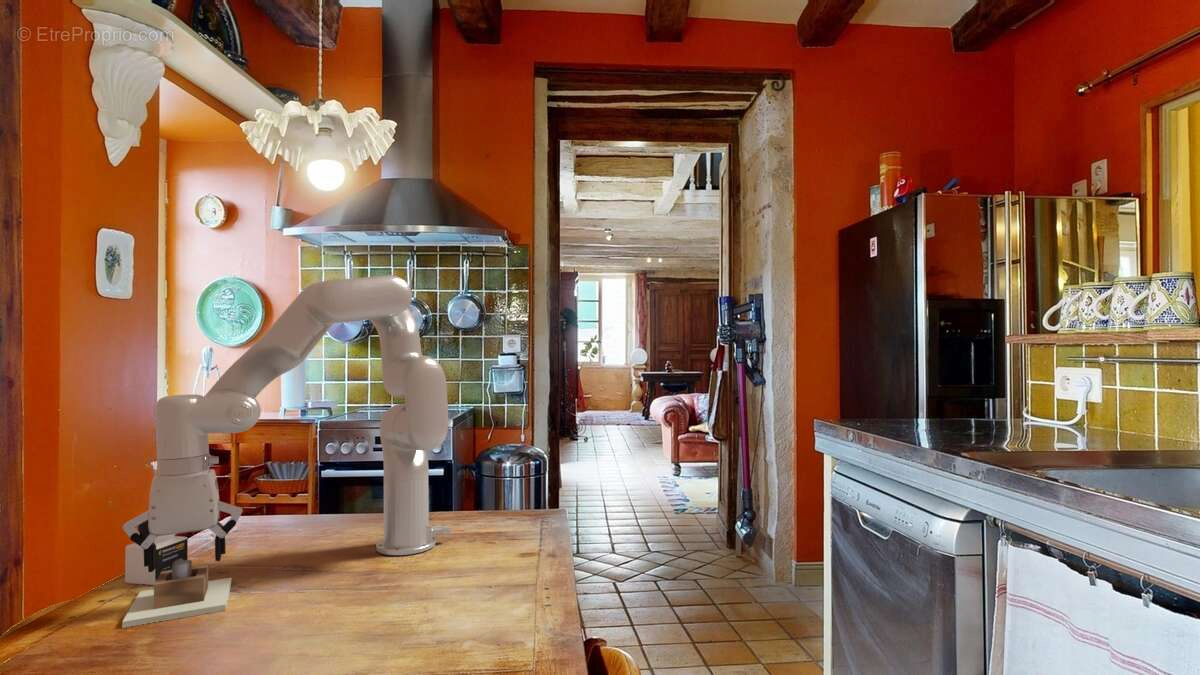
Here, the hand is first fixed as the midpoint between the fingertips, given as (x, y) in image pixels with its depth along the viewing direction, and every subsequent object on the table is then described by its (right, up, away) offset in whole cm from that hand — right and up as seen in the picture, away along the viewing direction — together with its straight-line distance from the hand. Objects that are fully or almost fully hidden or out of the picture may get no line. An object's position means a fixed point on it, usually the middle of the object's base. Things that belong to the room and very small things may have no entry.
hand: (186, 564), depth 108 cm
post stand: (0, -7, -1) cm, 7 cm away
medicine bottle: (-14, -7, +12) cm, 19 cm away
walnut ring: (0, -6, 0) cm, 6 cm away
